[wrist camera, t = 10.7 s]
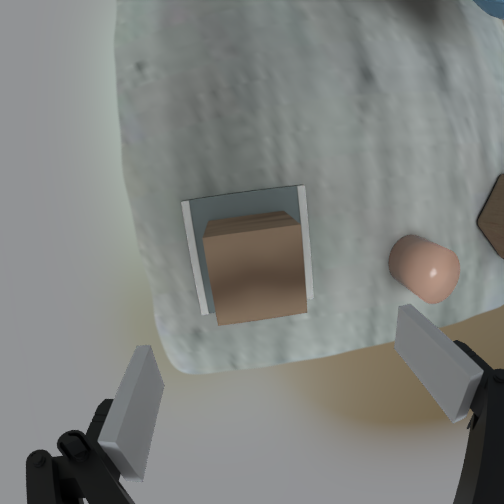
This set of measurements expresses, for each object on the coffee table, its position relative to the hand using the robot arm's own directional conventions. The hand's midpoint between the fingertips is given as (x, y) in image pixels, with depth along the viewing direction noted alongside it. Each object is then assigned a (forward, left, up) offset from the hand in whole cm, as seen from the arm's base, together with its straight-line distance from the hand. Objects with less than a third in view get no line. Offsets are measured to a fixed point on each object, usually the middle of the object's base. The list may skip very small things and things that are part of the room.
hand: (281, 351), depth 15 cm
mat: (0, 0, -20) cm, 20 cm away
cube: (0, 0, -19) cm, 19 cm away
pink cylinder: (+4, +20, -20) cm, 29 cm away
